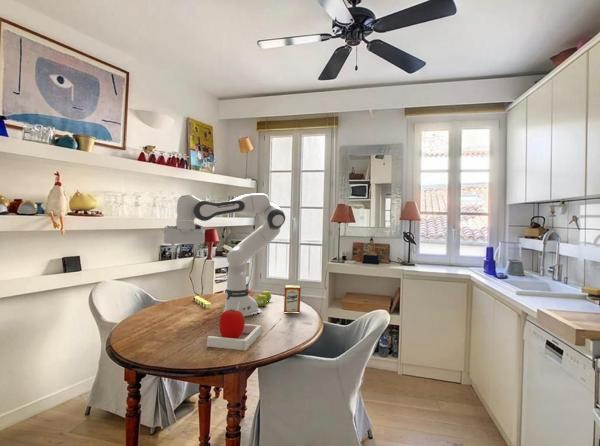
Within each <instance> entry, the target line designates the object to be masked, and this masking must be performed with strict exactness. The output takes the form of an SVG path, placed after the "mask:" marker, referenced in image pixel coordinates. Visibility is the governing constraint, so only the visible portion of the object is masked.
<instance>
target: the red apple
mask: <svg viewBox="0 0 600 446" xmlns="http://www.w3.org/2000/svg"><path fill="white" fill-rule="evenodd" d="M245 324H246V322H245V316H243V314H242V313H241V312H240V311H237V310H232V309H231V310H226V311H225V312H222V313H221V315H220V318H219V324H218V326H219V327H218V328H219V332H220V335H221V337H224V338H234V339H240V337H241V336H242V334H243V333H242V332H243V329H244V325H245Z"/></svg>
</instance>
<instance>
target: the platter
mask: <svg viewBox="0 0 600 446" xmlns="http://www.w3.org/2000/svg"><path fill="white" fill-rule="evenodd" d="M193 302H194V303H196V304H198V305H199V306H200V307H203V308H204V309H205V310H207V309H212V303H211V302H209V301H207V300H206V299H204V298H203V297H200V296H199V295H197V296H193Z"/></svg>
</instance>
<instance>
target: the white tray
mask: <svg viewBox="0 0 600 446" xmlns="http://www.w3.org/2000/svg"><path fill="white" fill-rule="evenodd" d="M248 333H250V334H248ZM242 334H248V335H247V336H246V337H245V338H243V339H242V338H238V339H234V338H224V337H222V336H213V335H207V337H206V338H207V339H206V345H207V346H206V347H211V348H217V349H219V348H220V349H226V350H227V349H228V350H230V349H231V350H239V351H247V350H248V349H249V348H250V347H251V345H252V344H253V343H254V342H255V341H256V340H257V339H258V338H257V337H258V336H259V337H260V336H261V334H262V325H261V324H260V325H259V324H249V323H245V325H244V329H243V332H242ZM256 338H257V339H256ZM249 346H250V347H249Z"/></svg>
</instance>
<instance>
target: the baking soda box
mask: <svg viewBox="0 0 600 446" xmlns="http://www.w3.org/2000/svg"><path fill="white" fill-rule="evenodd" d="M283 298H284V299H283V300H284V302H283V303H284V304H283V305H284V306H283V313H284V312H301V285H294V284H291V285H289V284H285V285H284V297H283Z"/></svg>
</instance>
